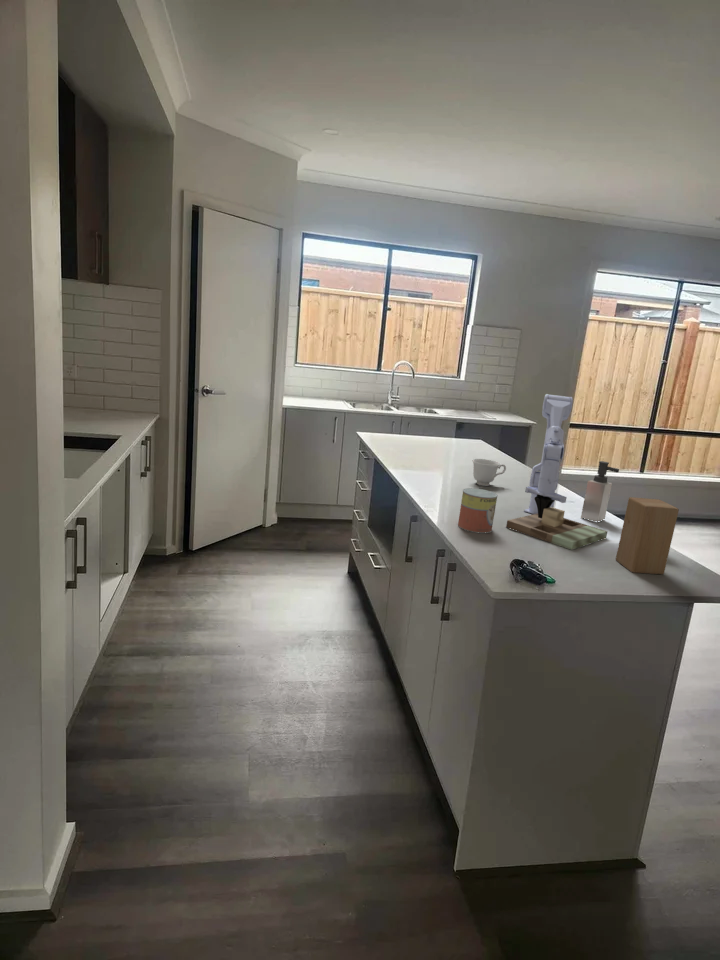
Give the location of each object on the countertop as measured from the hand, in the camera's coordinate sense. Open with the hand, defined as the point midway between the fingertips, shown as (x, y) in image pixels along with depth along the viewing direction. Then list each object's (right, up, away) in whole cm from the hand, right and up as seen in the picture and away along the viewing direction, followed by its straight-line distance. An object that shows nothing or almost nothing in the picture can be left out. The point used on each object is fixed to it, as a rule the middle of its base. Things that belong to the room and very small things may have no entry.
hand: (541, 517), depth 213 cm
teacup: (-7, +11, +58) cm, 60 cm away
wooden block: (+20, -13, -30) cm, 38 cm away
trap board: (+4, -5, -4) cm, 7 cm away
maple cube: (+3, -2, -3) cm, 4 cm away
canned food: (-24, -3, -8) cm, 26 cm away
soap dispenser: (+26, -2, +19) cm, 32 cm away
